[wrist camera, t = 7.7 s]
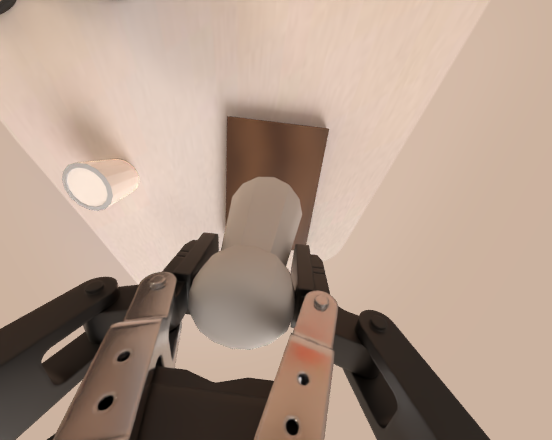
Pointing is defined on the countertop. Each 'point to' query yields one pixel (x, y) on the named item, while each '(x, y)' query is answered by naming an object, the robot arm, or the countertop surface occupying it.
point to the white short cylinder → (99, 182)
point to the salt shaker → (250, 269)
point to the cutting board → (276, 160)
